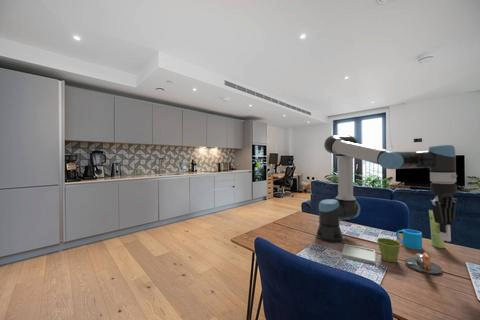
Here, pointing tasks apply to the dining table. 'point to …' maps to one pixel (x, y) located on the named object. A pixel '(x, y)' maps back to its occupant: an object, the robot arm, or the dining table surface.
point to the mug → (411, 238)
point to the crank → (423, 261)
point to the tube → (435, 232)
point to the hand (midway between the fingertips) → (445, 240)
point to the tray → (359, 253)
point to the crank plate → (412, 264)
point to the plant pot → (389, 249)
